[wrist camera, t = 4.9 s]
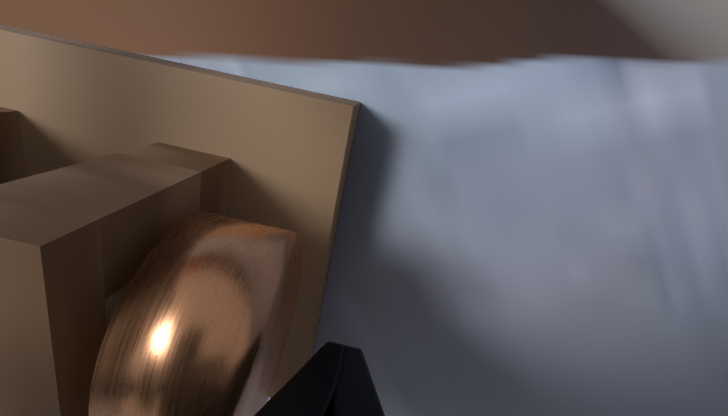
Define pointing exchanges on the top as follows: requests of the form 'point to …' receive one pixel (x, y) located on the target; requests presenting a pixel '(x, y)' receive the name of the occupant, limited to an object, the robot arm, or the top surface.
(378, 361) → the top surface
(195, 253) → the shaft
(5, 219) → the bearing stand
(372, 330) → the top surface
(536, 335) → the top surface
